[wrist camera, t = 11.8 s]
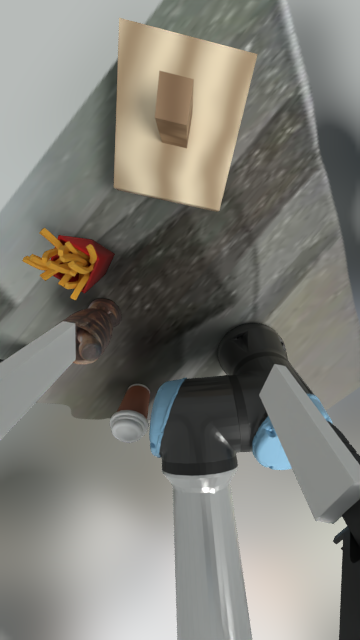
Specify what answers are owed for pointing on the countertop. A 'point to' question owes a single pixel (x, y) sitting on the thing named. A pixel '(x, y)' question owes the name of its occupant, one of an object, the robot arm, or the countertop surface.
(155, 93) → the lid
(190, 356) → the countertop surface
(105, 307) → the mortar and pestle
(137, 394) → the coffee cup
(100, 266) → the french fries
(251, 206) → the countertop surface
